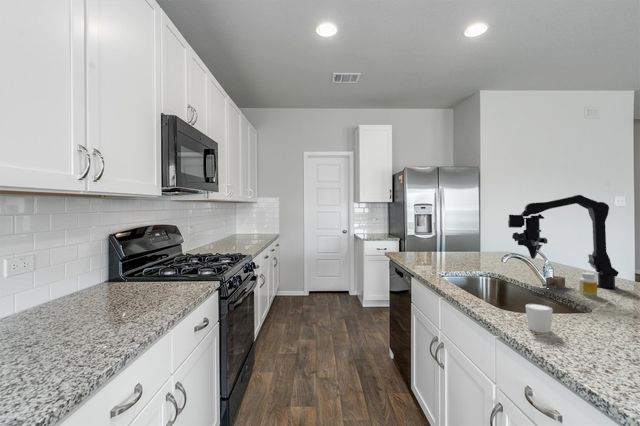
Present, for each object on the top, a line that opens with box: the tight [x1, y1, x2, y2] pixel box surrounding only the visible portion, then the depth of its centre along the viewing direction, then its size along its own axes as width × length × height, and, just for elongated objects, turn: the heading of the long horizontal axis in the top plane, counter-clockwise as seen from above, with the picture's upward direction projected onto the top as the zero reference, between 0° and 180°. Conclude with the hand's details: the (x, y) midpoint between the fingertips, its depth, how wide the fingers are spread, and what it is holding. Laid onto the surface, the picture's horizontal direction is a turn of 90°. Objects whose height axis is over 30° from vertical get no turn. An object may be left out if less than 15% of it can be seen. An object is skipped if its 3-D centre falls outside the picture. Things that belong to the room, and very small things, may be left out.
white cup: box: [525, 303, 554, 334], centre depth 92 cm, size 7×7×7 cm
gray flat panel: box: [532, 285, 575, 295], centre depth 136 cm, size 14×12×1 cm
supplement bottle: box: [579, 272, 598, 298], centre depth 124 cm, size 5×5×10 cm
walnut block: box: [545, 275, 566, 290], centre depth 138 cm, size 4×4×8 cm
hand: (533, 258), depth 149 cm, fingers closed
